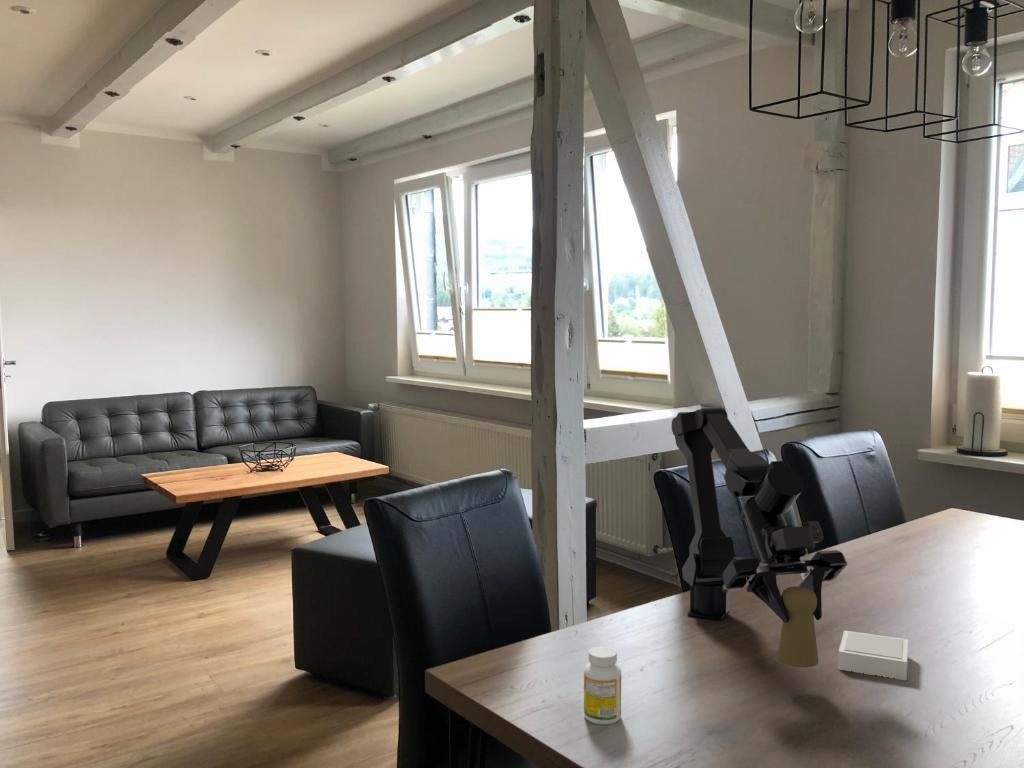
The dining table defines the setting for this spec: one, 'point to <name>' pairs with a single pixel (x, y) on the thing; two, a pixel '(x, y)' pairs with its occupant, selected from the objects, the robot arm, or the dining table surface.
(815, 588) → the robot arm
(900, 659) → the tray
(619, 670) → the supplement bottle
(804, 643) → the cork
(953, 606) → the dining table surface
